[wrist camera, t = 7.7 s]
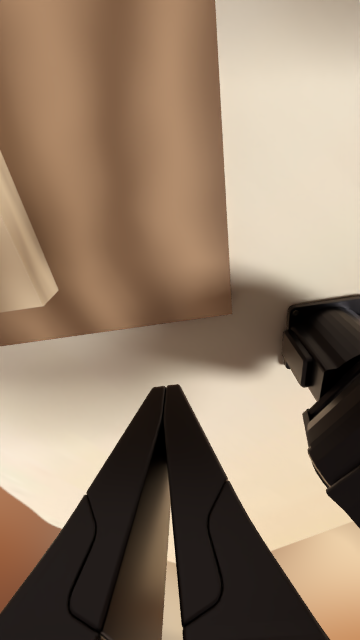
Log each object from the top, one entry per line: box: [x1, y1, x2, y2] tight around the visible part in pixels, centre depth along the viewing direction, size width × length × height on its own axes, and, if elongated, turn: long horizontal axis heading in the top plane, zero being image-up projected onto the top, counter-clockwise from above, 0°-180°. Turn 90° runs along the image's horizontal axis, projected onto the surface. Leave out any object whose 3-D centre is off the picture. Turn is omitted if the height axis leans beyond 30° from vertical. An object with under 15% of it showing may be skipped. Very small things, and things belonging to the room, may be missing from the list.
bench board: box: [0, 0, 232, 346], centre depth 17 cm, size 24×18×2 cm
